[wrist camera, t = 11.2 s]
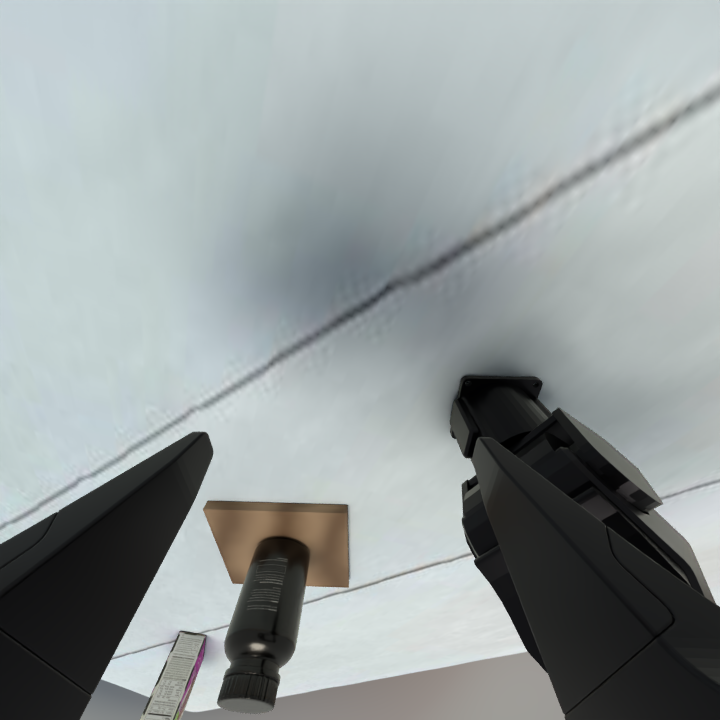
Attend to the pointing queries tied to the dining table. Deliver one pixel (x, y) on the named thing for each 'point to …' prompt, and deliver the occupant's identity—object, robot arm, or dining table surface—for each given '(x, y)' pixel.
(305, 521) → the walnut board
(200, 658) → the candy bar box
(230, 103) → the dining table surface
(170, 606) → the dining table surface
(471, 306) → the dining table surface
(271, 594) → the supplement bottle
